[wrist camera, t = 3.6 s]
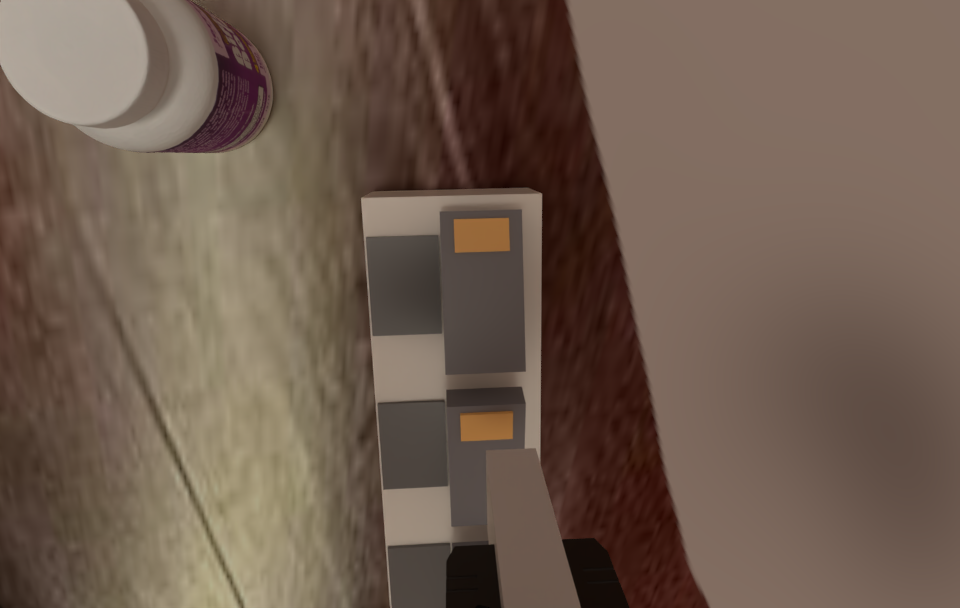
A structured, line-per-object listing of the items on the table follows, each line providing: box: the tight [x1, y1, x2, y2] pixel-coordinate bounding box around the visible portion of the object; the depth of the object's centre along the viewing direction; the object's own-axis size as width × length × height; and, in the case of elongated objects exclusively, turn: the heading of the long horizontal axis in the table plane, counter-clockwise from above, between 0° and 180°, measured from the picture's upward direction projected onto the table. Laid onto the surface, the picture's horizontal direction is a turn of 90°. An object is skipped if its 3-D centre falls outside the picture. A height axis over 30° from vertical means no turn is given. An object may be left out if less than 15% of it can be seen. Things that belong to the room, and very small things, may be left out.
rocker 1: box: [440, 209, 526, 375], centre depth 22 cm, size 3×6×1 cm, turn 1°
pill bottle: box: [0, 0, 273, 153], centre depth 20 cm, size 5×5×10 cm
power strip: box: [361, 188, 542, 608], centre depth 27 cm, size 7×21×5 cm, turn 1°
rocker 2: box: [446, 387, 526, 527], centre depth 24 cm, size 3×6×1 cm, turn 1°
